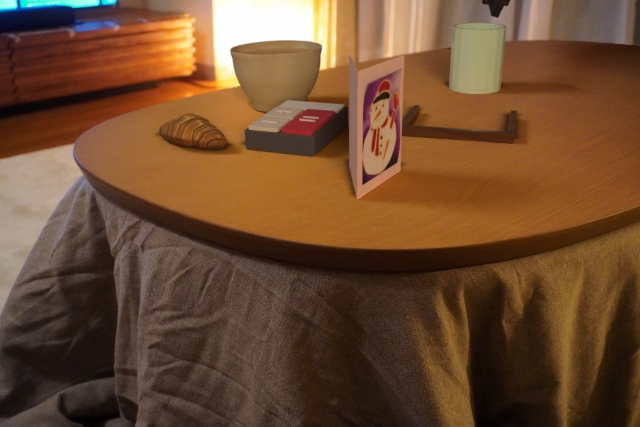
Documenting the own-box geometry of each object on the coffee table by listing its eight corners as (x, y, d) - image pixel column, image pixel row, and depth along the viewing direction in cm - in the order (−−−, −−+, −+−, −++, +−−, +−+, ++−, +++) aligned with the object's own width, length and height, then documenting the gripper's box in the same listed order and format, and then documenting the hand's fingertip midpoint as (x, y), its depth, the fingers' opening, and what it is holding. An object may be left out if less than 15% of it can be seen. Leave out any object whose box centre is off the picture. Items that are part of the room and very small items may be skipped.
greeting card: (363, 201, 72) (364, 72, 66) (310, 189, 76) (307, 66, 70) (406, 171, 81) (410, 55, 75) (356, 162, 85) (357, 50, 79)
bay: (413, 113, 107) (414, 104, 107) (516, 119, 102) (517, 110, 102) (398, 135, 96) (399, 126, 95) (513, 143, 91) (514, 133, 90)
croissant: (145, 143, 95) (140, 111, 93) (178, 132, 100) (175, 102, 98) (208, 159, 87) (205, 124, 85) (241, 146, 92) (238, 113, 90)
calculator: (242, 125, 89) (285, 96, 102) (245, 153, 91) (287, 121, 104) (313, 131, 86) (348, 101, 98) (314, 160, 87) (349, 127, 100)
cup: (510, 91, 121) (517, 27, 116) (464, 96, 118) (469, 31, 113) (482, 81, 129) (488, 21, 124) (439, 85, 126) (442, 24, 122)
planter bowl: (311, 94, 122) (310, 37, 118) (332, 114, 108) (332, 50, 103) (230, 100, 119) (225, 42, 114) (240, 122, 104) (235, 56, 100)
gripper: (506, -9, 143) (519, 36, 125) (453, -26, 141) (458, 18, 124) (521, -41, 138) (537, 2, 120) (466, -58, 137) (474, -17, 119)
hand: (497, 10), depth 122 cm, fingers closed
